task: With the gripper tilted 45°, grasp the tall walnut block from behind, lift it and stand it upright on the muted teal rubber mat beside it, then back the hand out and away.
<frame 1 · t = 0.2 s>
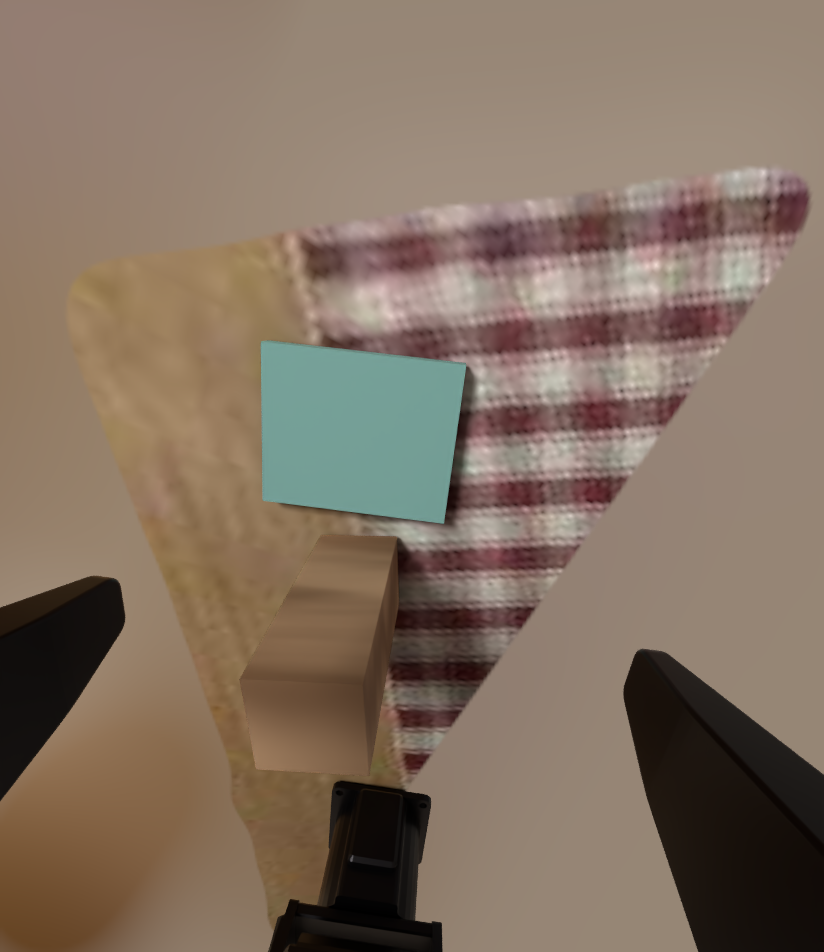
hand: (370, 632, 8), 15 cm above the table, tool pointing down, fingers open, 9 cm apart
walnut block: (360, 569, 25), on the table
mat: (360, 433, 22), on the table
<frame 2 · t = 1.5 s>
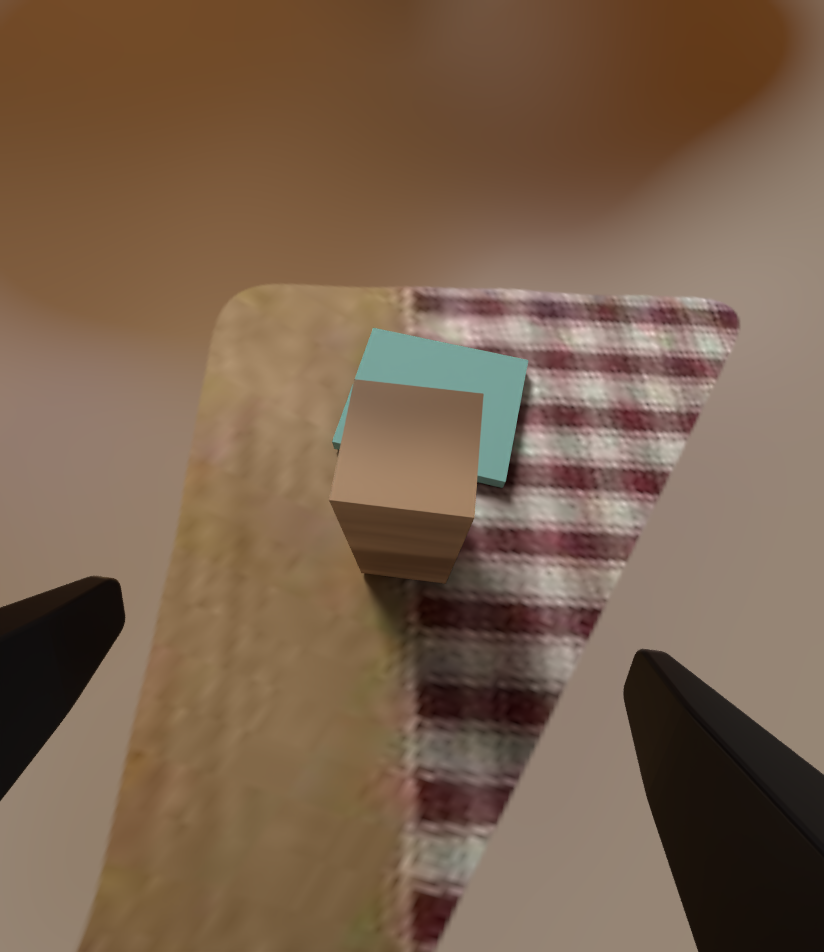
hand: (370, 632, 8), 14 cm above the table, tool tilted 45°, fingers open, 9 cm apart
walnut block: (408, 537, 23), on the table
mat: (433, 407, 26), on the table
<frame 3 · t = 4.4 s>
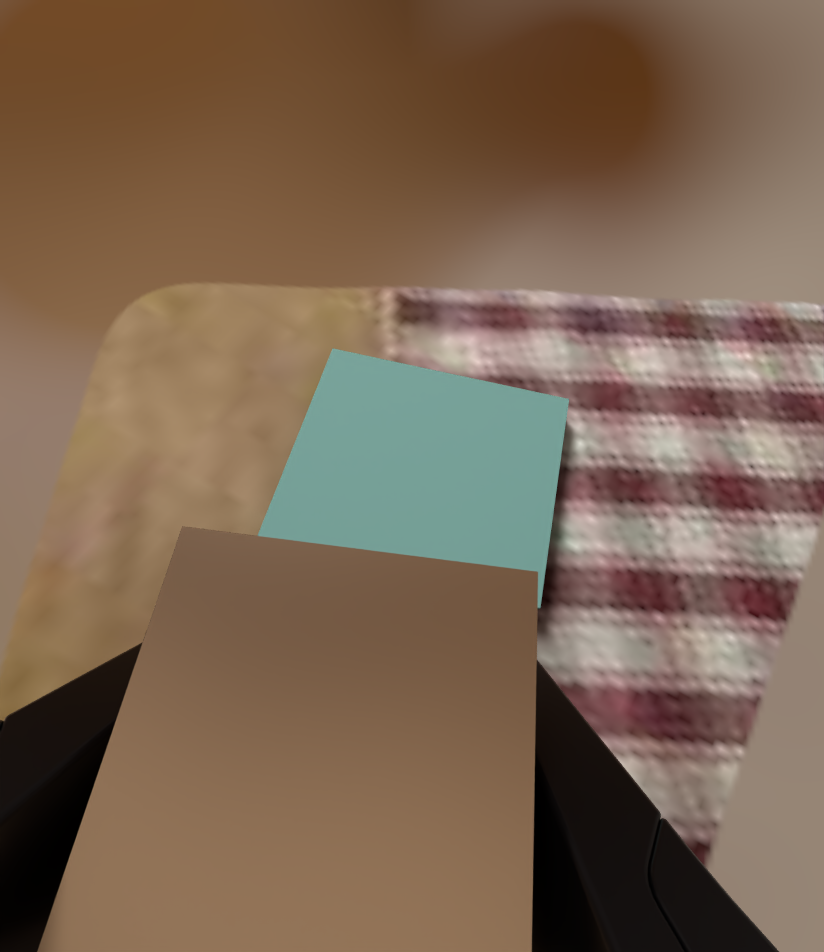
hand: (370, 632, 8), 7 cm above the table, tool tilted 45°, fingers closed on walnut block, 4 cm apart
walnut block: (379, 703, 13), on the table, touching gripper
mat: (423, 472, 16), on the table
when the fingers open (8 cm above the table, at t = 7.4 s): walnut block drops 1 cm, resting on mat.
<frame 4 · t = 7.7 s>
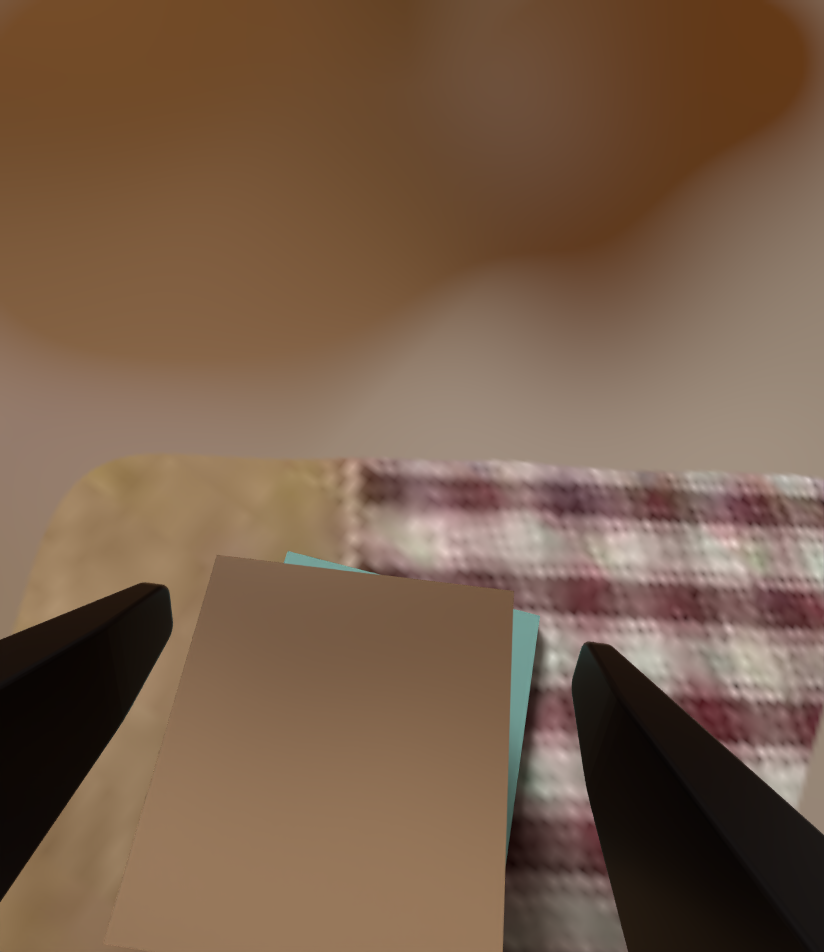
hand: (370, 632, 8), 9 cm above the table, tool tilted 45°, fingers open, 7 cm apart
walnut block: (380, 702, 15), point 1 cm above the table, touching mat
mat: (382, 699, 15), on the table
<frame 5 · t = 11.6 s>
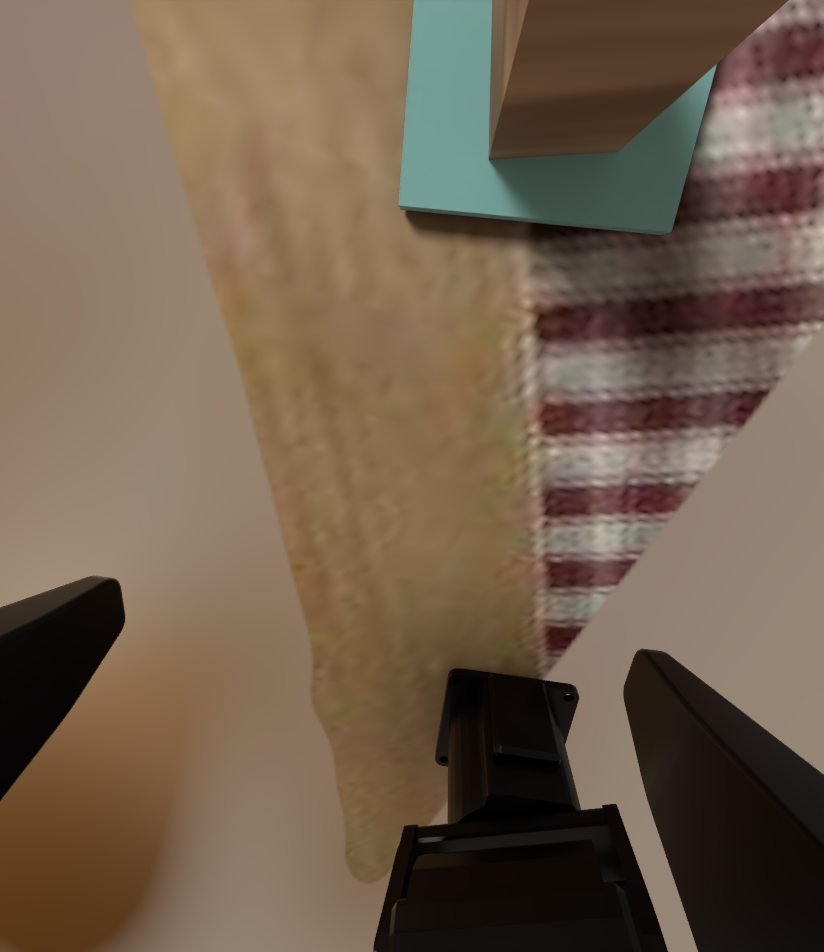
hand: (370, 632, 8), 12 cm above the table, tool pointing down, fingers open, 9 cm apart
walnut block: (557, 77, 14), point 1 cm above the table, touching mat
mat: (552, 87, 15), on the table
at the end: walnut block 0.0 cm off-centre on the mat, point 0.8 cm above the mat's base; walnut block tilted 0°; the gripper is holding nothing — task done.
